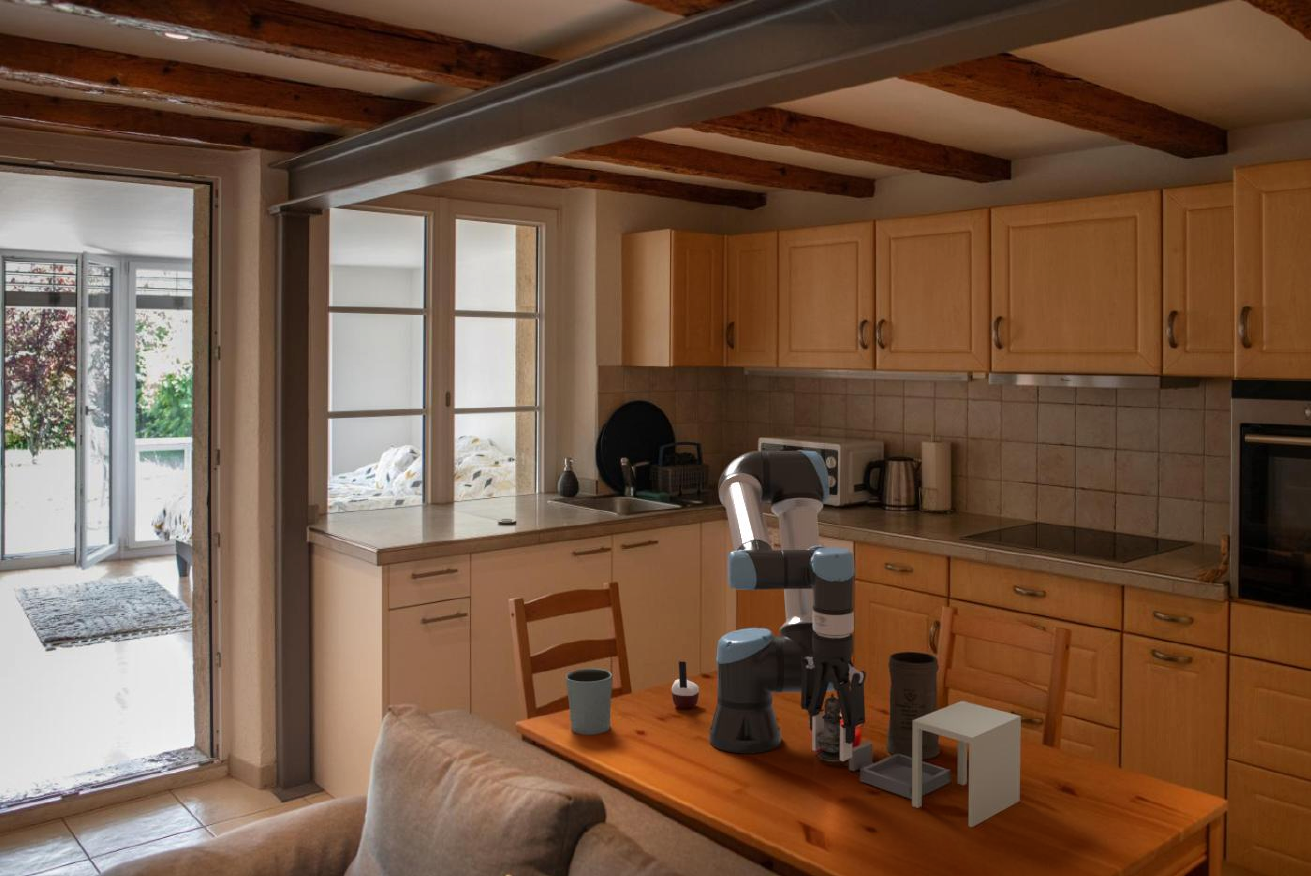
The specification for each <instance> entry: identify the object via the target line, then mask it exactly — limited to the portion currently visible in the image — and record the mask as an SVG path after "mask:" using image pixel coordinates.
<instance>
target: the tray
mask: <svg viewBox="0 0 1311 876" xmlns="http://www.w3.org/2000/svg"><path fill="white" fill-rule="evenodd" d="M848 770H849V771H853V772H855V771H857V770H859V781H860V782H862V783H864V784H868V785H871V786H873V787H876V788H879V789H881V790H883V791H884V790H885V791H887V792H890V793H892V794H895V795H898V796H901V797H904V798H907V799H910V800H912V758H911V757H908V756H904V755H901V754H898V753H897V754H895V755H893V754H891V756H888V757H886V758H883V759H881V760H878V761H876V762H873V742H872V743H871V742H869V741H866V742H863V743H861V744H859V745H856V746H854V747H852V758H849V759H848ZM951 773H952V771H951V769H948V768H945V767H941V766H938V765H935V764H932V763H929V762H926V761H923V760H922V797H923V796H925V795H927V794H929V793H931V792H933V791H935V790H937V789H939V788H942V787H943V786H946V785H948V784H950V783H951V781H952V780H951V778H952V777H951Z"/></svg>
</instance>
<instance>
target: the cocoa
mask: <svg viewBox="0 0 1311 876" xmlns="http://www.w3.org/2000/svg"><path fill="white" fill-rule="evenodd" d="M687 678H688V677H687V662H686V661H680V660H679V661H678V679H675V680H674V682H673V684H672V686H671V697H672V701H673V704H674V705H675V707H676V708H678V709H680V710H690V708H691V709H693V708H695V706H697V704H698V701H699V694H700V692H699V691H700V687H699V686H698V684H696V683H694V682H693V681H691V680H689V679H687Z"/></svg>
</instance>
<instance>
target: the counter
mask: <svg viewBox="0 0 1311 876" xmlns="http://www.w3.org/2000/svg"><path fill="white" fill-rule="evenodd" d="M1021 718H1022V717H1021V715H1017V714H1013V713H1010V712H1006V711H1002V710H998V709H995V708H991V707H987V706H985V705H980V704H976V703H971V702H968V701H964V700H960V701H958V702H956V703H955V702H954V703H953V704H950V705H948V706H946V707H943V708H940V709H937V711H935V712H932V713H930V714H927V715H925V716H922V717H920V718H917V719H915V720H913V735H912V799H911V806H912V807H914V808H918V809H919V808H920V807H922V801H923V800H922V799H923V796H922V761H923V759H922V730H925V731H928V732H931V733H935V734H938V735H939V736H942V737H946V738H948V739H949V738H950V739H953V740H955V741H957V784H958V785H961V786H965V785H967V778H968V827H969V828H974V827H975V826H976V825H977V826H978V824H980V823H982V822H984V821H986V820H987V819H989V818H992V817H993V816H995V815H996V814H999V813H1000V812H1002V811H1004V810H1006V809H1008V808H1009V807H1011V806H1013V805H1015V804H1017V803H1019V802H1020V800H1021V799H1020V796H1021V795H1020V793H1021V792H1020V791H1021V789H1020V788H1021V785H1020V784H1021V731H1022V730H1021V729H1022V728H1021V726H1022V725H1021V724H1022V723H1021V722H1022V721H1021V720H1022V719H1021ZM968 745H969V746H968ZM968 748H969V749H968ZM968 751H969V752H968ZM968 754H969V755H968ZM968 757H969V758H968ZM967 760H968V761H967ZM967 767H968V768H967ZM967 769H968V770H967ZM967 772H968V773H967Z"/></svg>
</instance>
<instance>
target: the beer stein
mask: <svg viewBox="0 0 1311 876" xmlns="http://www.w3.org/2000/svg"><path fill="white" fill-rule="evenodd" d="M887 663H888V665H887V666H888V671H889V672H888V673H889V676H890V689H889V724H888V729H887V733H886V734H887V741H886V747H885V748H886V750H887V752H888V753H890V754H891V755H895V754H897V753H898V754H901V755H904V756H908V757H911V758H912V735H913V720H915V719H917V718H920V717H922V716H925V715H927V714H930V713H932V712H935V711H937V710H938V697H937V696H938V694H937V693H938V690H937V688H938V687H937V684H938V683H937V681H938V679H937V677H938V674H937V673H938V671H939V668H940V666H939V659H938V657H936V656H934V655H932V654H928V653H925V652H916V651H903V652H896V653H893V654H890V656H889V659H888V662H887ZM939 739H940V735H938V734H935V733H931V732H928V731H925V730H922V760H930V759H933V758H936V757H938V756H939V754H940V753H941V748H940V744H939Z"/></svg>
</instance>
